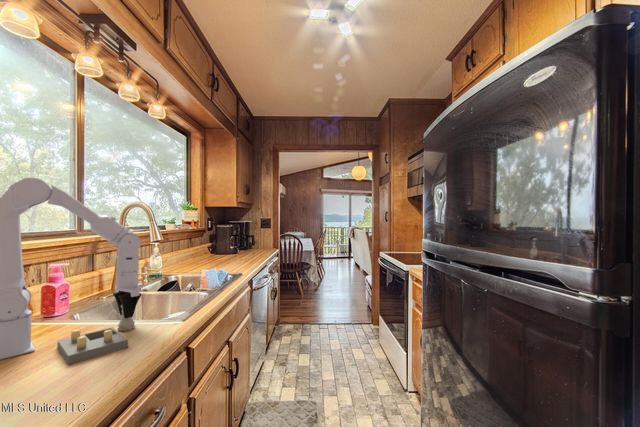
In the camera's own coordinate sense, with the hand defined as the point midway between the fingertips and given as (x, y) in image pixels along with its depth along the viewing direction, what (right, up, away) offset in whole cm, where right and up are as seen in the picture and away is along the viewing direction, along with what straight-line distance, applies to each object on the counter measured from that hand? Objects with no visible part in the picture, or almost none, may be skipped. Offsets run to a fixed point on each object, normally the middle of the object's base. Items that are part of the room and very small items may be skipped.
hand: (126, 315), depth 89 cm
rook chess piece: (0, -4, 0) cm, 4 cm away
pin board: (0, -4, -13) cm, 13 cm away
